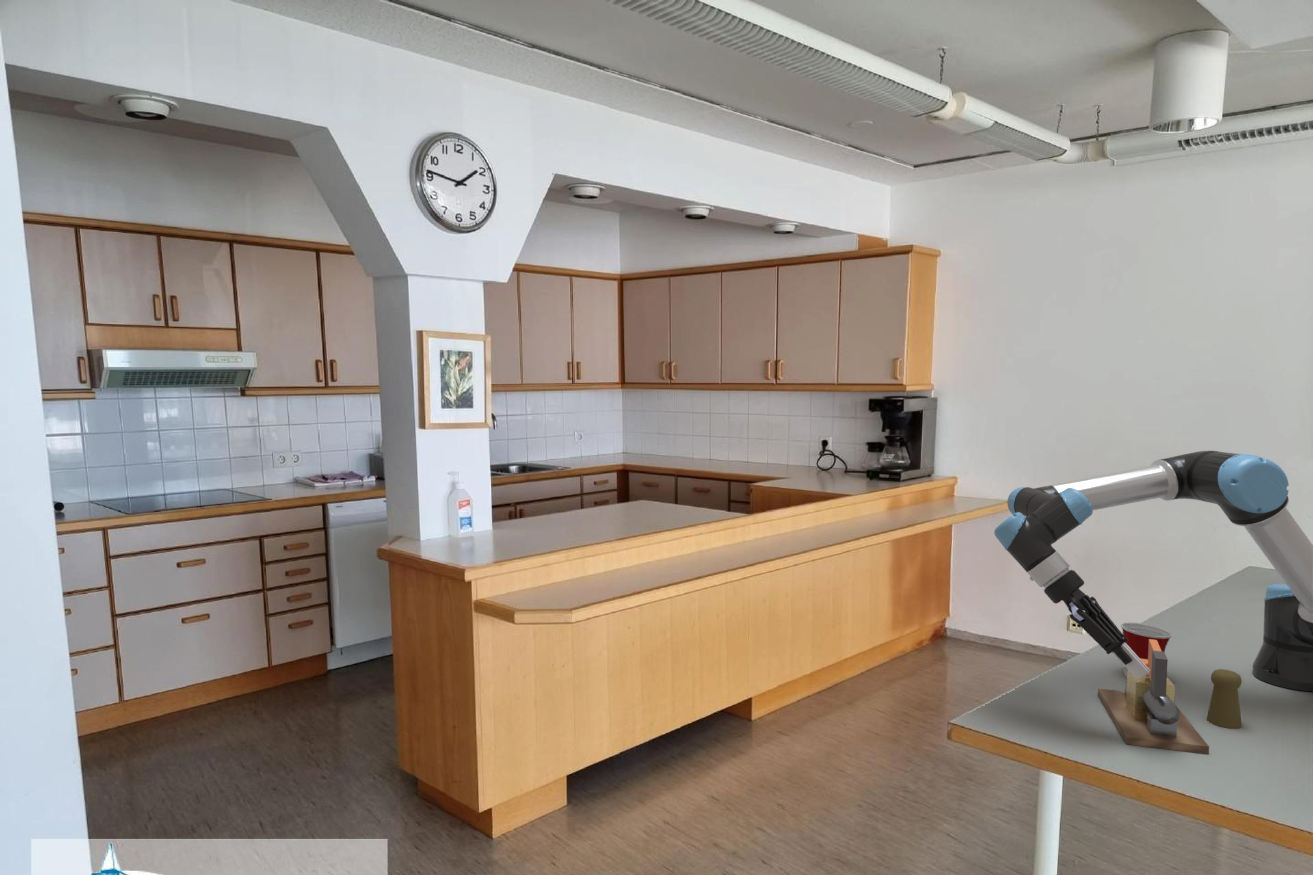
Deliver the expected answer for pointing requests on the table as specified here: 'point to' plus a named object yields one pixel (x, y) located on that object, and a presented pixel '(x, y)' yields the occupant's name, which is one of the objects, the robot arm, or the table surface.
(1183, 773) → the table surface
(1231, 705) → the cork
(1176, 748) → the mounting board
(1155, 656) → the valve lever
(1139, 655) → the plastic cup
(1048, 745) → the table surface
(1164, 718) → the valve body
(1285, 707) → the table surface
